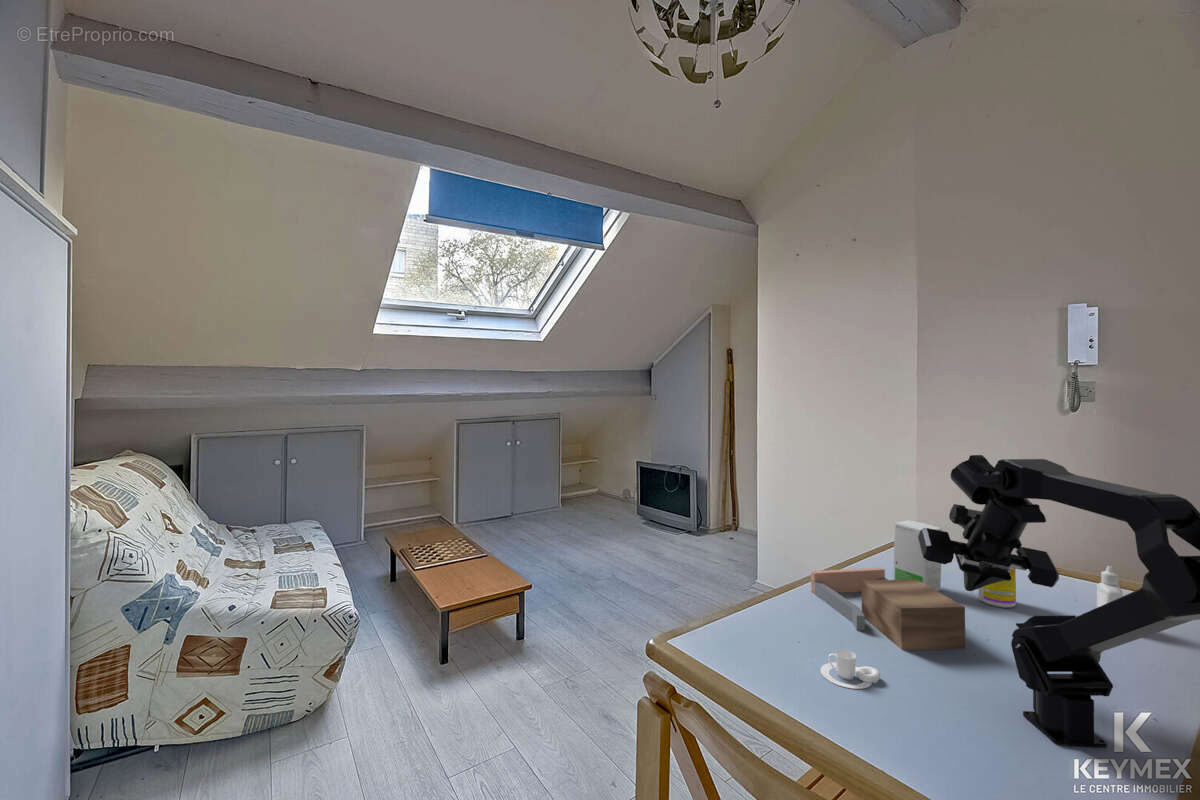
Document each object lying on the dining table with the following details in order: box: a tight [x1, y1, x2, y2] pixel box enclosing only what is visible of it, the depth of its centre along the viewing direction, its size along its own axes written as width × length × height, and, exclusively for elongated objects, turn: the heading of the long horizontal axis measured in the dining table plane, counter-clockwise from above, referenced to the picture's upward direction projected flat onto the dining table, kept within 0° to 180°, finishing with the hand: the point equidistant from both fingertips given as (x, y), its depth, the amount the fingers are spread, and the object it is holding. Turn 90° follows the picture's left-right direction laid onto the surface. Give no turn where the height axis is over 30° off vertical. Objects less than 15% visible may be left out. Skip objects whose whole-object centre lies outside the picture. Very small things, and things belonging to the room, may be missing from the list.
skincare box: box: [892, 519, 943, 592], centre depth 122 cm, size 8×7×16 cm
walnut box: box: [860, 579, 966, 651], centre depth 100 cm, size 14×12×8 cm
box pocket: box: [810, 567, 889, 632], centre depth 111 cm, size 20×20×5 cm
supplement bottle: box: [978, 568, 1017, 609], centre depth 113 cm, size 7×7×13 cm
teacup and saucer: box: [820, 649, 881, 690], centre depth 85 cm, size 9×8×4 cm
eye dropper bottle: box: [1096, 565, 1124, 608], centre depth 101 cm, size 4×6×12 cm
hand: (967, 588), depth 89 cm, fingers closed
